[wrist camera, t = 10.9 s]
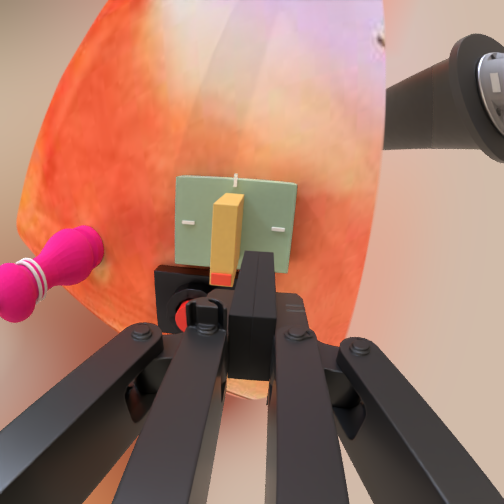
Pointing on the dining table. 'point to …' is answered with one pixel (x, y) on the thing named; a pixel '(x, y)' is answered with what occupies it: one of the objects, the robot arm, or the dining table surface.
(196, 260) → the plate
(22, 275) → the pepper mill
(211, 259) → the handle
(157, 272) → the button block
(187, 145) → the dining table surface
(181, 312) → the button
